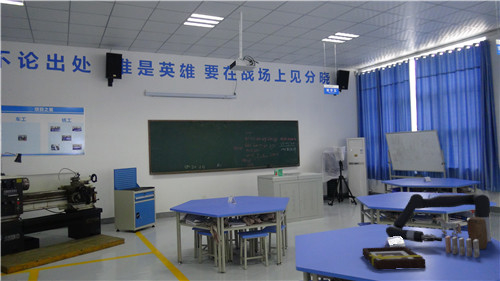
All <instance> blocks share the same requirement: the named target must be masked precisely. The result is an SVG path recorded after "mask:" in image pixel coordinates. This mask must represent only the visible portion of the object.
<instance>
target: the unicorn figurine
mask: <svg viewBox="0 0 500 281" xmlns="http://www.w3.org/2000/svg"><path fill="white" fill-rule="evenodd" d="M432 219H433V220H435V221H436V224H437V225H439V224H440V226H441V228H440V231H441V233H442V234H443V235H444V236H445V235H446V236H448V235H447V234H448V232H447V231H446V229H453V231H452V233H451V235H452V236H453V237H454V236H457V235H461V234H463V232H462V226H461V224H460V223H459V222H452V221H451V222H450V221H449V222H448V221H447V220H445V219H444V218H443V217H440V216H439V217H435V218H434V217H432Z"/></svg>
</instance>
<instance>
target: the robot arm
mask: <svg viewBox="0 0 500 281" xmlns="http://www.w3.org/2000/svg"><path fill="white" fill-rule="evenodd" d="M408 200H409V201H408V202H407V204H406V206H405V207H404V209H403V210H402V211H401V212H400V214H399V215H398V216H397V217H396V218H395V220H394V222H393V225H391V226H387V227H386V229H385V233H386V235H387V236H388V238H389V237H393V236H401V237H402V238H403V239H402V240H404V241H410V242H413V243H414V242H415V243H423V242H424V243H425V242H427V243H428V242H442V241H443V238H442V237H438V236H437V235H434V234H431V233H429V234H428V233H425V234H424V232H423V231H421V230H414V229H411V230H409V229H403V228H404V227H405V226H406V224H407V223H408V221H409V220H410V218H411V216H412V214H414V212H415V210H423V209H429V208H430V209H431V208H457V207H461V206H474V211H473V217H480V218H483V219H485V221H486V228H487V240H488V241H487V242H488V243H490V242H492V233H491V220H490V219H491V218H490V215H491V201H490V198H489V197H488V196H487V195H485V194H483V193H481V192H478V193H477V192H476V193H470V194H440V195H437V196H436V195H435V196H433V197H430V198H424V197H423V196H422V194H420V193H414V194H412V195H411V196H410V198H409V199H408Z"/></svg>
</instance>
